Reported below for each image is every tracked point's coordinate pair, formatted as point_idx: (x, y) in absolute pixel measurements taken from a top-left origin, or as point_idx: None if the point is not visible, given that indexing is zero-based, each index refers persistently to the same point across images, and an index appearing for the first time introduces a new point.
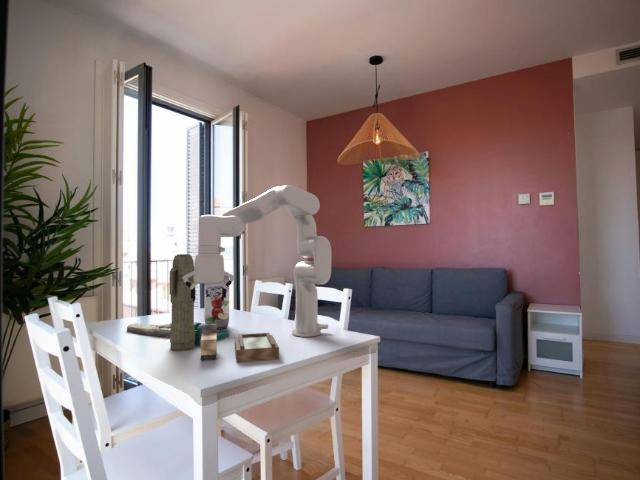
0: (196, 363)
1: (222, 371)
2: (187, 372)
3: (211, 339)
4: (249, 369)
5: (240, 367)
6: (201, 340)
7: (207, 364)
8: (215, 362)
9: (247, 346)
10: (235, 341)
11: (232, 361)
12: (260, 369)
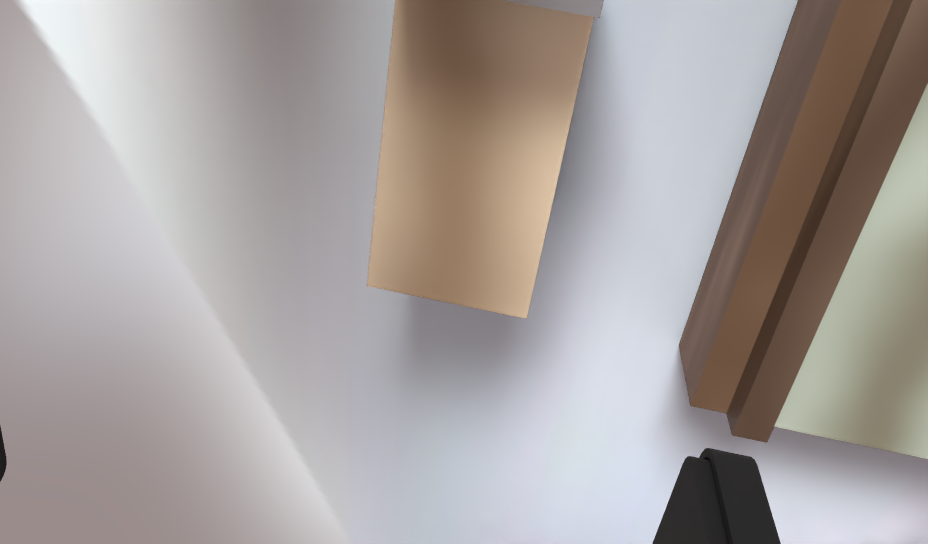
0: None
1: (533, 464)
2: (319, 388)
3: (476, 307)
4: None
5: (667, 449)
6: (375, 287)
7: None
8: None
9: (825, 366)
10: (806, 96)
11: (657, 307)
12: None
